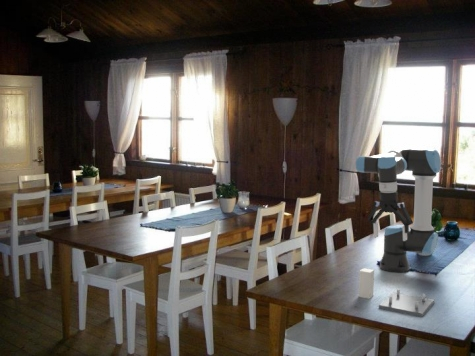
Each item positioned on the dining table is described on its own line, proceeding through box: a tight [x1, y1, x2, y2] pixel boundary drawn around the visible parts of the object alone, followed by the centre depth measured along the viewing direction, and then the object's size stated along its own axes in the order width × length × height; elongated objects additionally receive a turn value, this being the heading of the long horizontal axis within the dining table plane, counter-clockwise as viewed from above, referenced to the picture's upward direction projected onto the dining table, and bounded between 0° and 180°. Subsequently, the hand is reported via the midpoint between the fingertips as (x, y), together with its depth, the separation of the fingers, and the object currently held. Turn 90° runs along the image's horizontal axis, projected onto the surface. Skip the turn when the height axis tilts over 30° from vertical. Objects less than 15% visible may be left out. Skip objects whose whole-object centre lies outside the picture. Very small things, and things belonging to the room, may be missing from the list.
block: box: [358, 267, 375, 300], centre depth 243 cm, size 5×5×12 cm
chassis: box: [378, 288, 435, 318], centre depth 232 cm, size 20×18×4 cm
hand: (390, 238), depth 238 cm, fingers open, 13 cm apart
